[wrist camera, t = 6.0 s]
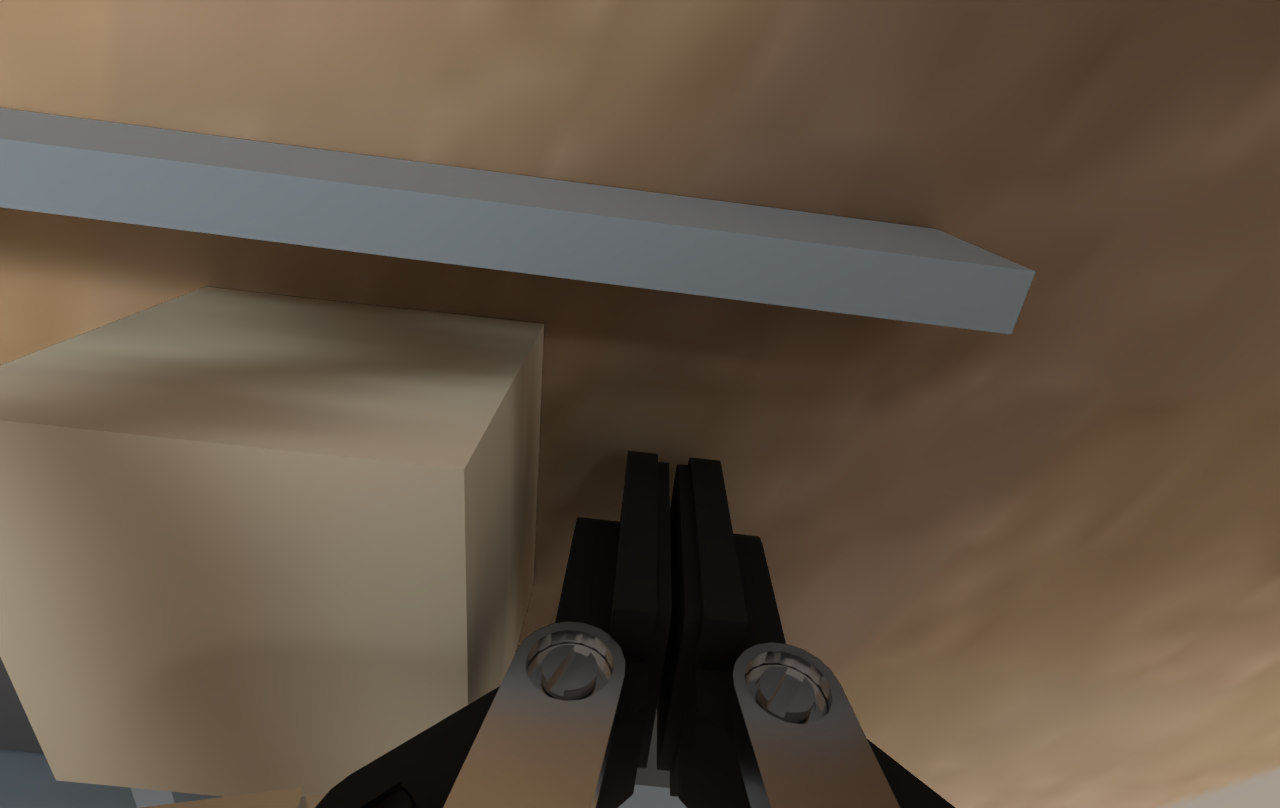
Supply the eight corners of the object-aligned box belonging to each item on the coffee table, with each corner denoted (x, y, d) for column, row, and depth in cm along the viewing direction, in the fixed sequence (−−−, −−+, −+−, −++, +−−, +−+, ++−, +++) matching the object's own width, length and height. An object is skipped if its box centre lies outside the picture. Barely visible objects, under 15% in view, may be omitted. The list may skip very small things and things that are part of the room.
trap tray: (936, 228, 10) (1035, 271, 8) (743, 841, 17) (759, 978, 15) (-846, -3, 10) (-1442, -47, 7) (-292, 731, 17) (-478, 852, 14)
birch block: (544, 324, 11) (463, 469, 7) (533, 585, 14) (470, 820, 9) (204, 286, 11) (-112, 408, 7) (257, 557, 14) (55, 781, 9)
